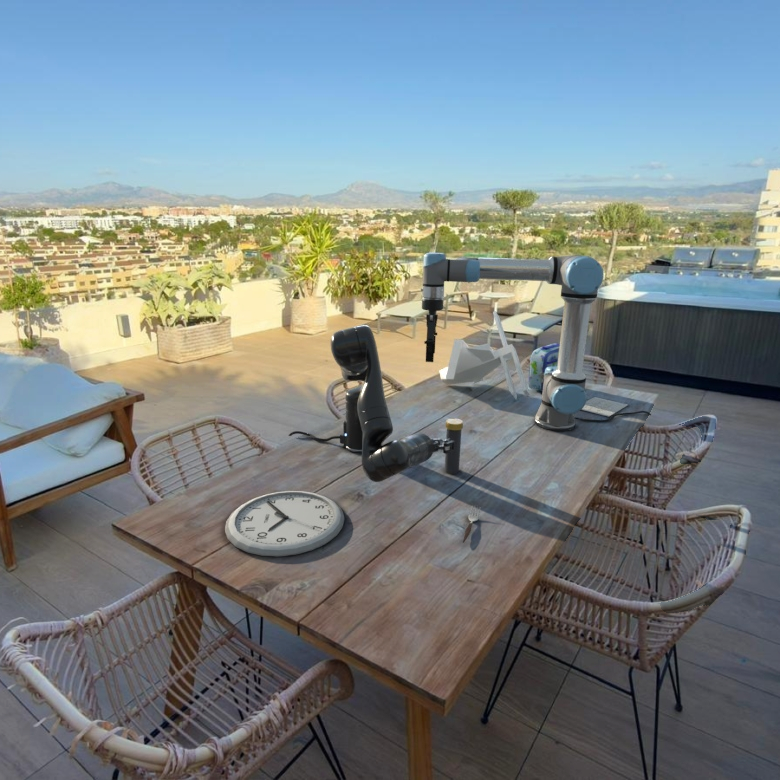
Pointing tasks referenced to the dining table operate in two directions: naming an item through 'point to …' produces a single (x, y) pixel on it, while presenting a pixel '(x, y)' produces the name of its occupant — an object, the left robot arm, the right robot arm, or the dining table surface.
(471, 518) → the fork
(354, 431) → the left robot arm
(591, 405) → the invitation card
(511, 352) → the white plastic object
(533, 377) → the lunch box
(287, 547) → the wall clock
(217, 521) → the dining table surface
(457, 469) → the dark grey cylinder
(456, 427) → the lid
